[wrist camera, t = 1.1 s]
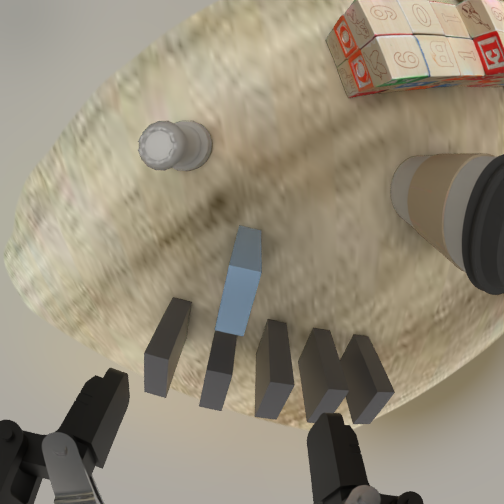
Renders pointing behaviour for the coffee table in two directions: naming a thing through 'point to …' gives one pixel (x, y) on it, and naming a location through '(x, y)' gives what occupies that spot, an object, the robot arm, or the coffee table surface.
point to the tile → (240, 282)
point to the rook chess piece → (175, 145)
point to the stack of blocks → (418, 45)
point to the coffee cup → (457, 210)
